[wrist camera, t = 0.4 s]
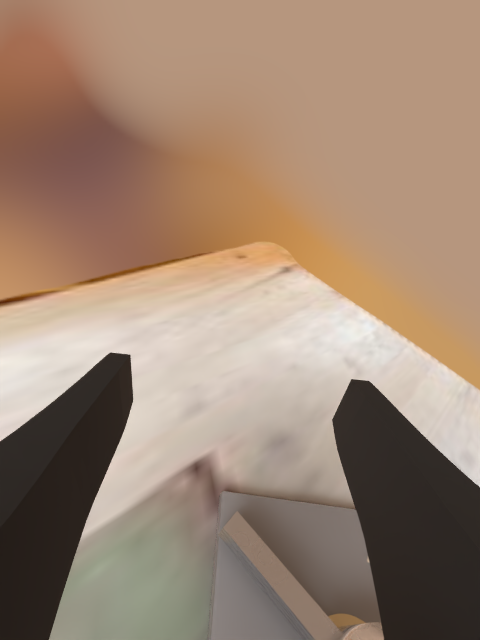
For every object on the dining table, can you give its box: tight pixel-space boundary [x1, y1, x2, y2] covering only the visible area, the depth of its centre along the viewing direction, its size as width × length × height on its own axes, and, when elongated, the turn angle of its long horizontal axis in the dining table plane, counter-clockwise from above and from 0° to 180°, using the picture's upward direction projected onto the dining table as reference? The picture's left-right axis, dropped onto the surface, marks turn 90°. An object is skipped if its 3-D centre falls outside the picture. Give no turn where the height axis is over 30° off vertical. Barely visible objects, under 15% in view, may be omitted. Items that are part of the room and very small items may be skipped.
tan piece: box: [218, 511, 384, 640], centre depth 18 cm, size 14×6×4 cm, turn 47°
